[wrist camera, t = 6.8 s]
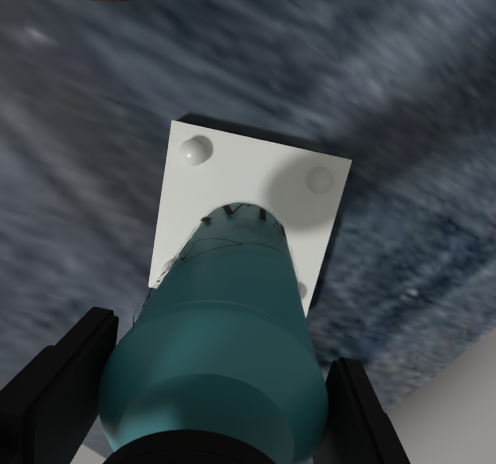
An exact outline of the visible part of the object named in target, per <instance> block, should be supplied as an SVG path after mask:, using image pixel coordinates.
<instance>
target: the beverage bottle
mask: <svg viewBox="0 0 496 464" xmlns="http://www.w3.org/2000/svg"><path fill="white" fill-rule="evenodd" d="M230 202H231V201H230ZM248 202H250V201H248ZM226 203H227V202H226ZM253 203H254V202H253ZM223 204H224V203H223ZM257 204H258V203H257ZM257 204H251V203H242V202H238V203H237V202H235V203H230V204H226V205H223V206H222V205H221V204H220V206H221V207H219V208H217V207H216V209H215V210H214V211H212V212H211V213H210V214H208V215H207V216H206V217H202V219H201V220H200V221H202V222H201V224H200V225H199V227H198V228H197V227H196V228H197V230H196V231H195V233H192V234H191V233H190V234H191V235H190V236H192V235H193V236H192V237H191V239H190V238H189V237H190V236H189V237H188V238H189V239H190V240H188V242H187V243H186V244H185V246H184V247H183V249H182V248H181V247H180V248H181V249H182V250H181V252H180V253H179V252H177V253H179V254H177V253H176V254H177V255H175V257H176V256H178V255H179V256H178V258H173V259H174V260H175V259H176V261H175V262H174V261H172V262H173V263H174V264H173V263H172V265H171V266H172V267H171V266H170V267H171V268H170V267H168V268H169V269H170V270H169V269H168V268H167V269H168V270H169V271H168V270H167V269H166V271H168V273H167V274H166V276H165V275H164V276H165V277H163V278H162V279H163V280H162V279H161V280H162V281H161V280H157V282H158V283H159V282H160V281H161V283H160V284H159V286H158V285H157V284H158V283H157V284H156V285H157V286H158V287H156V288H157V289H156V288H155V289H156V290H155V292H154V291H153V292H154V293H153V295H152V294H151V293H150V294H151V295H152V296H151V297H150V295H149V294H147V295H149V296H148V297H150V299H148V297H146V298H147V299H148V300H147V299H145V302H146V300H147V302H146V305H143V307H144V308H143V309H142V311H141V313H140V315H139V317H138V319H137V320H136V322H135V324H134V317H133V327H132V328H131V330H129V331H128V332H127V334H126V335H125V336H124V337H123V338H122V339H121V340H120V341H119V343H118V344H117V346H116V347H115V348H114V350H113V351H112V353H111V354H110V356H109V358H108V360H107V362H106V364H105V366H104V369H103V372H102V375H101V378H100V383H99V390H98V408H99V415H100V419H101V423H102V426H103V429H104V432H105V435H106V437H107V439H108V441H109V443H110V445H111V447H112V449H113V450H114V453H112V454H111V455H110V456H109V457H108V458H107V459H106V460H105V461H104V463H103V464H306V463H307V462H308V461H309V460H310V458H311V457H312V456H313V454H314V453H315V451H316V449H317V448H318V446H319V444H320V442H321V440H322V437H323V434H324V431H325V428H326V423H327V418H328V404H329V403H328V394H327V389H326V385H325V381H324V378H323V374H322V372H321V369H320V367H319V365H318V362H317V361H316V357H315V353H314V349H313V345H312V341H311V337H310V333H309V329H308V325H307V321H306V317H305V313H304V309H303V305H302V302H301V298H300V294H299V291H300V290H298V283H299V282H297V281H299V276H300V275H299V276H298V272H297V270H295V268H296V267H295V268H294V265H295V264H294V265H293V261H292V260H293V259H292V258H291V257H292V256H291V255H292V254H290V250H289V247H288V243H287V238H286V234H285V230H284V229H285V228H284V227H285V226H284V227H283V225H282V224H281V223H280V221H279V220H277V218H276V217H275V216H274V215H273V214H271V213H272V212H271V213H270V212H269V210H268V208H267V210H268V211H267V210H266V209H264V207H262V206H261V207H260V206H258V205H257ZM259 205H260V204H259ZM212 210H213V209H212ZM270 211H271V210H270ZM209 212H210V211H209ZM274 214H275V213H274ZM281 222H282V221H281ZM196 228H195V229H196ZM195 229H194V230H195ZM194 230H192V231H193V232H194ZM288 237H289V236H288ZM188 238H187V239H188ZM187 239H186V240H187ZM289 241H290V240H289ZM290 245H291V244H290ZM291 248H292V247H291ZM178 251H179V250H178ZM292 251H293V250H292V249H291V252H292ZM292 253H293V252H292ZM293 258H294V257H293ZM170 263H171V262H170ZM166 271H163V272H164V273H165V272H166ZM295 271H296V272H295ZM164 273H162V274H164ZM162 274H161V275H160V277H161V276H162ZM296 274H297V278H296ZM160 277H159V278H160ZM159 278H158V279H159ZM155 283H156V282H155ZM156 285H155V286H156ZM155 286H154V285H153V287H155ZM300 286H301V282H300ZM152 289H153V288H152ZM152 289H151V290H152ZM151 290H150V291H149V292H151ZM142 301H143V300H142ZM145 302H144V303H145ZM140 304H141V303H140ZM138 307H139V306H138ZM136 310H137V309H136ZM135 312H136V311H135ZM134 315H135V314H134Z"/></svg>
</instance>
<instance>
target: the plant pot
mask: <svg viewBox="0 0 496 464" xmlns="http://www.w3.org/2000/svg"><path fill="white" fill-rule="evenodd" d="M92 1H126V0H92Z"/></svg>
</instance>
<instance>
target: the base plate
mask: <svg viewBox="0 0 496 464" xmlns="http://www.w3.org/2000/svg"><path fill="white" fill-rule="evenodd" d="M351 162H352V160H349V159H345V158H340V157H336V156H331V155H327V154H322V153H318V152H313V151H309V150H304V149H300V148H295V147H291V146H286V145H282V144H277V143H273V142H268V141H264V140H259V139H255V138H250V137H246V136H241V135H236V134H232V133H227V132H223V131H218V130H214V129H209V128H205V127H200V126H196V125H191V124H187V123H182V122H178V121H173V120H172V123H171V130H170V138H169V145H168V152H167V159H166V166H165V173H164V180H163V187H162V194H161V201H160V208H159V215H158V222H157V229H156V236H155V243H154V250H153V257H152V265H151V272H150V279H149V286H148V287H152V288H156V287H158V286H159V284H160V283H161V281H162V280H163V279H162V278H163V277H165V276H166V274H167V273H168V271H169V270H170V269H169V268H168V267H170V266H171V265H172V263H173V262H172V261H174V262H175V261H176V259H175V260H174V259H173V258H178V256H179V255H178V256H176V257H175V255H177V254H179V253H180V252H181V250H182V249H183V247H184V246H185V244H186V243H187V242H188V240H190V239H191V237H192V236H193V235H192V236H190V235H191V234H192V233H195V231H196V230H197V228H198V227H199V225H200V224H201V222H202V221H200V220H201V219H202V217H206V216H207V215H208V214H210V213H211V212H212V211H214V210H215V209H216V207H217V208H219V207H221V206H220V204H221V205H222V206H223V205H226V204H230V203H235V202H237V203H238V202H242V203H251V204H257V203H258V204H257V205H258V206H260V207H261V206H262V207H264V209H266V210H267V208H268V210H269V212H270V213H271V212H272V213H271V214H273V215H274V216H275V217H276V218H277V220H279V221H280V223H281V224H282V225H283V227H284V226H285V227H284V228H285V229H284V230H285V234H286V238H287V243H288V247H289V250H290V254H292V255H291V256H292V257H291V258H292V259H293V260H292V261H293V265H294V264H295V265H294V268H295V267H296V268H295V270H297V272H298V276H299V275H300V276H299V281H297V282H299V283H298V290H300V291H299V294H300V298H301V302H302V305H303V309H304V313H305V317H306V316H307V312H308V309H309V305H310V302H311V299H312V295H313V292H314V288H315V285H316V282H317V278H318V275H319V271H320V268H321V264H322V261H323V258H324V254H325V251H326V247H327V244H328V241H329V237H330V234H331V230H332V227H333V224H334V220H335V217H336V213H337V210H338V207H339V203H340V200H341V196H342V193H343V190H344V186H345V183H346V179H347V176H348V173H349V169H350V166H351ZM230 201H231V202H230ZM248 201H250V202H248ZM226 202H227V203H226ZM253 202H254V203H253ZM223 203H224V204H223ZM259 204H260V205H259ZM212 209H213V210H212ZM268 210H267V211H268ZM270 210H271V211H270ZM209 211H210V212H209ZM274 213H275V214H274ZM281 221H282V222H281ZM196 227H197V228H196ZM195 228H196V229H195ZM194 229H195V230H194ZM192 230H194V232H193V231H192ZM190 233H191V234H190ZM189 236H190V237H189ZM288 236H289V237H288ZM188 237H189V238H190V239H189V238H188ZM187 238H188V239H187ZM186 239H187V240H186ZM289 240H290V241H289ZM290 244H291V245H290ZM180 247H181V248H182V249H181V248H180ZM291 247H292V248H291ZM291 249H292V250H293V251H292V252H293V253H292V252H291ZM178 250H179V251H178ZM177 252H179V253H177ZM176 253H177V254H176ZM293 257H294V258H293ZM170 262H171V263H170ZM173 264H174V263H173ZM171 267H172V266H171ZM171 267H170V268H171ZM167 268H168V269H169V270H168V269H167ZM166 269H167V270H168V271H166ZM163 271H166V272H165V273H164V272H163ZM295 272H296V271H295ZM162 273H164V274H162ZM161 274H162V276H161V277H160V275H161ZM164 275H165V276H164ZM159 277H160V278H159ZM158 278H159V279H158ZM296 278H297V274H296ZM161 279H162V280H161ZM157 280H161V281H160V282H159V283H158V282H157ZM155 282H156V283H155ZM300 282H301V286H300ZM157 283H158V284H157ZM156 284H157V285H158V286H157V285H156ZM153 285H154V286H155V285H156V286H155V287H153Z"/></svg>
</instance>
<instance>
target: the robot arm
mask: <svg viewBox="0 0 496 464" xmlns="http://www.w3.org/2000/svg"><path fill="white" fill-rule="evenodd" d="M118 322H119V318H118V316H114V312H113V310H109V309H104V308H99V307H93V308H91V309H90V310H89V311H88V312H87V313H86V314H85V315H84V316H83V317H82V318H81V319H80V320H79V321H78V322H77V324H76V325H75V326H74V327H73V328H72V329H71V330H70V331H69V332H68V333H67V334H66V335H65V336H64V337H63V338H62V339H61V340H60V341H59V342H58V343H57V344H56V345H55V346H53V345H49V346H47V347H45V348H44V349H43V350H42V351H41V352H40V353H39V354H38V355H37V356H36V357H35V358H34V359H33V360H32V361H31V362H30V363H29V364H28V365H27V366H26V367H24V368H23V369H22V370H21V371H20V372H19V373H18V374H17V375H16V376H15V377H14V378H13V379H12V380H11V381H10V382H9V383H8V384H7V385H6V386H5V387H4V388H3V389H2V390H1V391H0V464H70V463H71V461H72V459H73V458H74V456H75V454H76V452H77V451H78V449H79V447H80V445H81V444H82V442H83V440H84V439H85V437H86V435H87V433H88V432H89V430H90V428H91V426H92V425H93V423H94V421H95V420H96V418H97V416H98V414H99V408H98V390H99V383H100V378H101V375H102V372H103V369H104V366H105V364H106V362H107V360H108V358H109V356H110V354H111V353H112V351H113V350H114V348H115V347H116V339H117V330H118ZM325 385H326V389H327V394H328V403H329V404H328V418H327V423H326V428H325V431H324V434H323V437H322V440H321V442H320V444H319V446H318V448H317V449H316V451H315V453H314V454H313V456H312V457H313V463H314V464H410V462H409V459H408V457H407V455H406V453H405V451H404V449H403V447H402V445H401V443H400V440H399V438H398V436H397V434H396V432H395V430H394V427H393V425H392V423H391V421H390V419H389V417H388V416H387V414H386V413H385V412H384V411H383V409H382V407H381V405H380V403H379V400H378V398H377V396H376V394H375V392H374V390H373V387H372V385H371V383H370V381H369V379H368V377H367V374H366V372H365V370H364V368H363V366H362V364H361V362H360V361H359V360H355V359H350V358H345V357H340V358H339V360H338V361H335V360H334V361H333V362H332V364H331V367H330V370H329V373H328V376H327V380H326V383H325Z"/></svg>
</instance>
